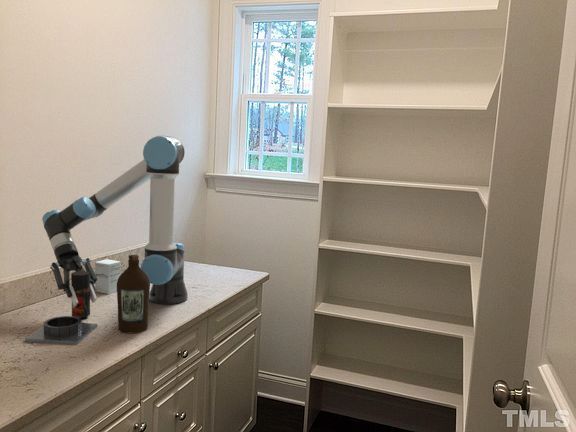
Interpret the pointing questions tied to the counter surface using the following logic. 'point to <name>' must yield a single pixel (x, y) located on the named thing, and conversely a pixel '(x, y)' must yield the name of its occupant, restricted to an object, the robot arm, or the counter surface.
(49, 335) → the duct flange
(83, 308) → the deodorant
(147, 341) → the counter surface
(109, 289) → the supplement box
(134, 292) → the olive oil
